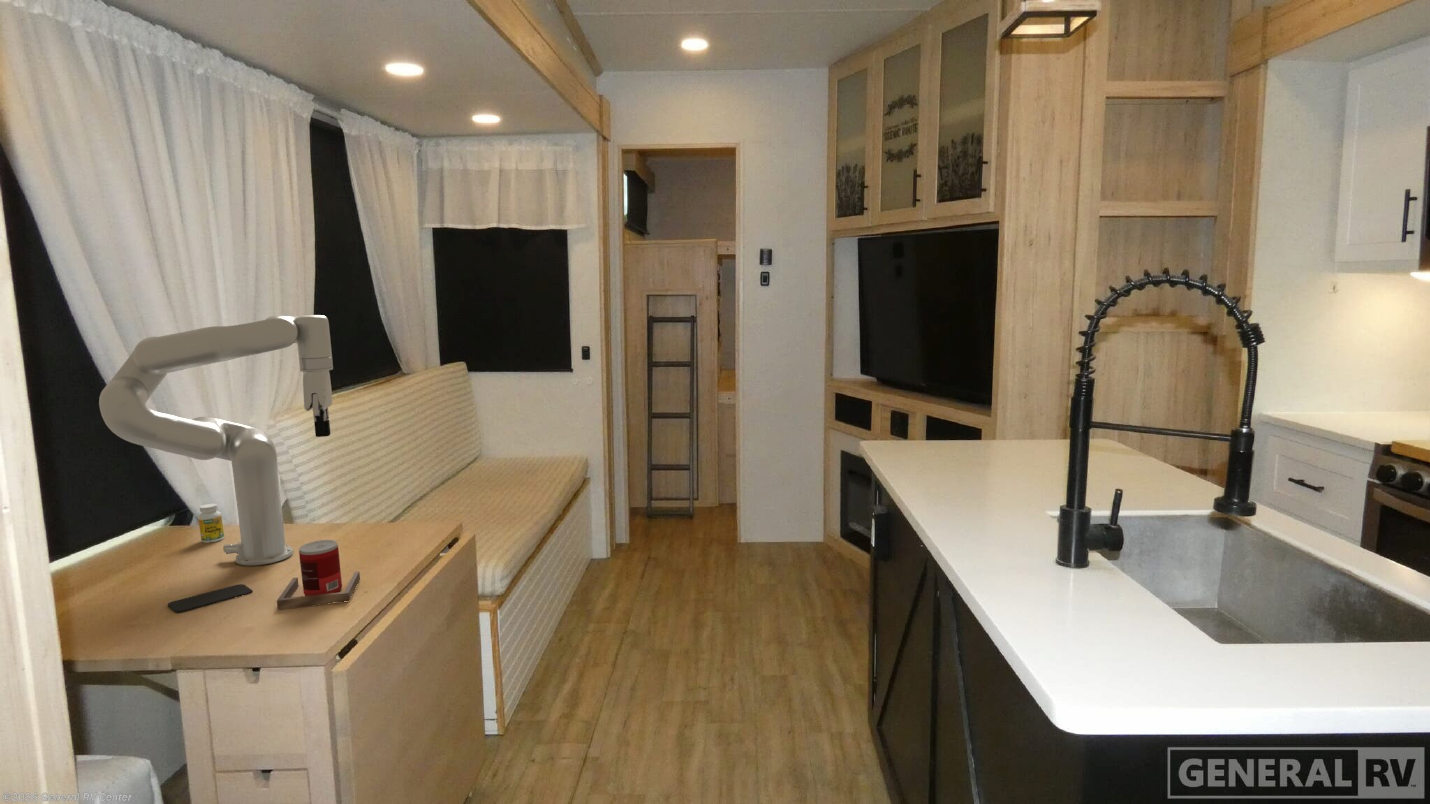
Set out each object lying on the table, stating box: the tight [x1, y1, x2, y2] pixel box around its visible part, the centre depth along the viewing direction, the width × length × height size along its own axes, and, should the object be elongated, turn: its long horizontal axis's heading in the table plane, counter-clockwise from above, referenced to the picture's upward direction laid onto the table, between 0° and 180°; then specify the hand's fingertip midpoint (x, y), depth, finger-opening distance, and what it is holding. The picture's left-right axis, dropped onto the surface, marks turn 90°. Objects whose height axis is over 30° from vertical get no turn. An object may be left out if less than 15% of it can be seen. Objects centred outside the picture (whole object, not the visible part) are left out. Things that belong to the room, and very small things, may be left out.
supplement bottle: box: [197, 503, 225, 544], centre depth 219 cm, size 5×5×10 cm
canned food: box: [298, 539, 343, 596], centre depth 180 cm, size 8×8×11 cm
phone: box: [167, 583, 253, 614], centre depth 179 cm, size 7×1×15 cm
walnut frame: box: [276, 571, 361, 611], centre depth 180 cm, size 14×14×2 cm
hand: (323, 435), depth 208 cm, fingers closed
